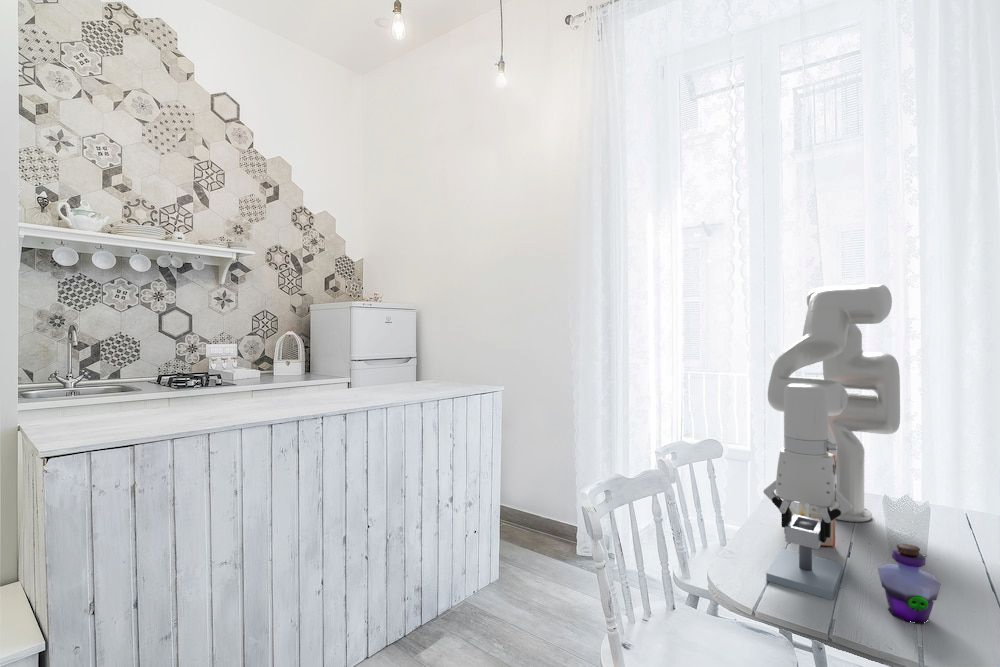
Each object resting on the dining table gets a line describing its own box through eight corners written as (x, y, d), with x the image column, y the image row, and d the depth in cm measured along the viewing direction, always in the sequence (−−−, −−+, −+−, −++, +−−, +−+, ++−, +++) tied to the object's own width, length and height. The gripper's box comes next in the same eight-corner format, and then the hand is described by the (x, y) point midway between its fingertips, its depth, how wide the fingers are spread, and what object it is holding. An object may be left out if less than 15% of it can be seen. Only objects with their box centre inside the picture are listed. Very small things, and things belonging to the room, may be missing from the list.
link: (793, 528, 106) (793, 514, 106) (825, 535, 102) (825, 520, 102) (785, 541, 100) (785, 526, 100) (818, 549, 96) (818, 533, 96)
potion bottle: (905, 631, 83) (905, 558, 83) (864, 602, 92) (865, 536, 91) (955, 628, 83) (956, 556, 83) (910, 600, 92) (910, 534, 92)
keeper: (782, 555, 110) (782, 507, 110) (843, 570, 103) (843, 519, 103) (766, 580, 99) (766, 527, 99) (832, 600, 92) (832, 543, 92)
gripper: (860, 448, 98) (860, 541, 98) (763, 436, 109) (763, 519, 109) (855, 456, 92) (855, 555, 93) (753, 443, 103) (753, 530, 104)
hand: (805, 534), depth 101 cm, fingers closed on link, 5 cm apart
